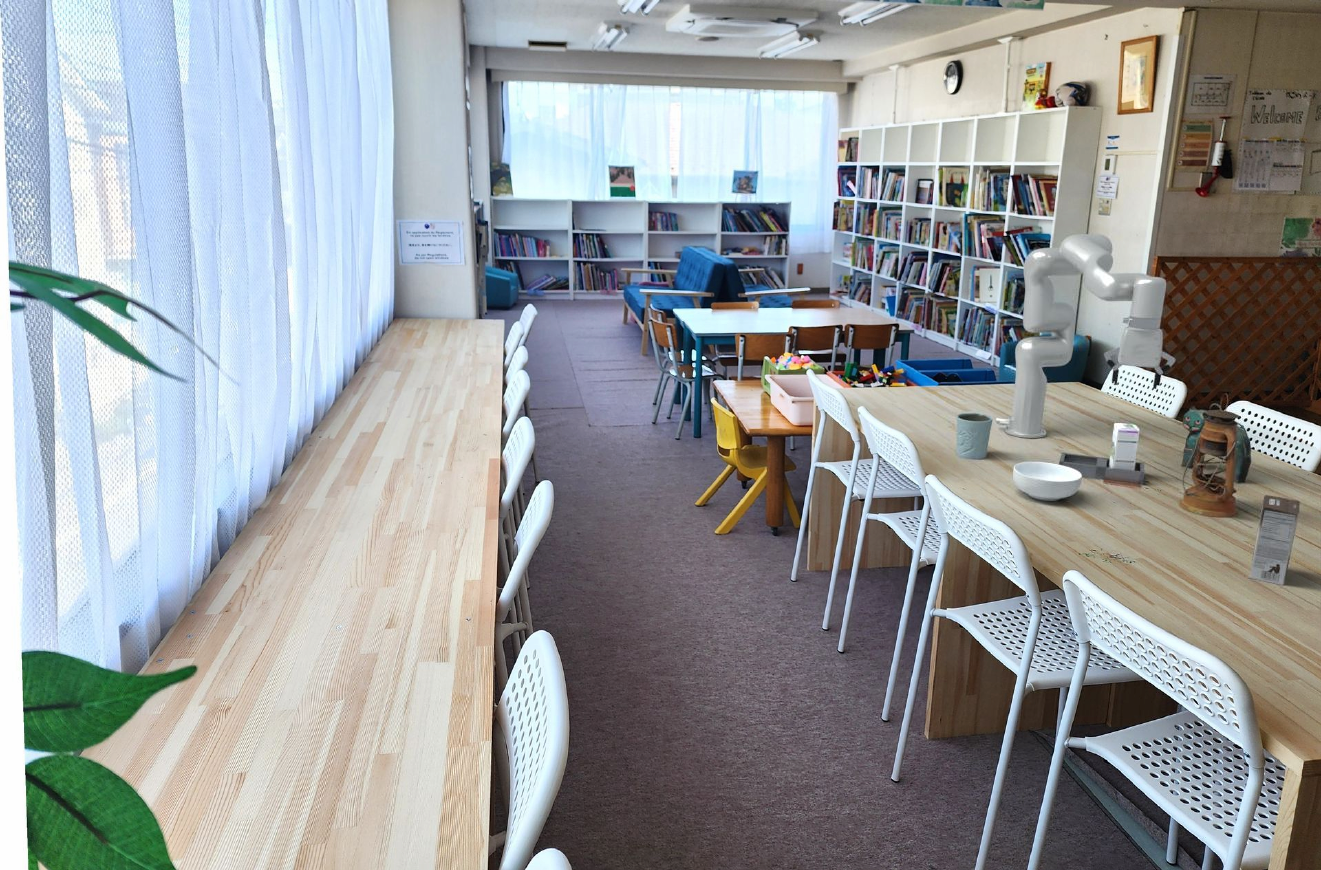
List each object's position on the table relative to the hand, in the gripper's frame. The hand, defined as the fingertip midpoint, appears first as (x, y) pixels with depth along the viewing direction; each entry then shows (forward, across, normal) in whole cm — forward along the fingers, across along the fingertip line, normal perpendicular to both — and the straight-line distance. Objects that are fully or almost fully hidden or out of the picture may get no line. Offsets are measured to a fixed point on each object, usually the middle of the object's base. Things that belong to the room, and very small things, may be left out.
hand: (1134, 386), depth 254 cm
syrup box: (+26, 0, 0) cm, 26 cm away
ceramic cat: (+26, +23, +16) cm, 38 cm away
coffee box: (+26, +29, -59) cm, 71 cm away
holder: (+26, -5, -2) cm, 27 cm away
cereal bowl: (+26, -18, -27) cm, 42 cm away
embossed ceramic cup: (+26, -41, +2) cm, 49 cm away
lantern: (+26, +20, -18) cm, 38 cm away
